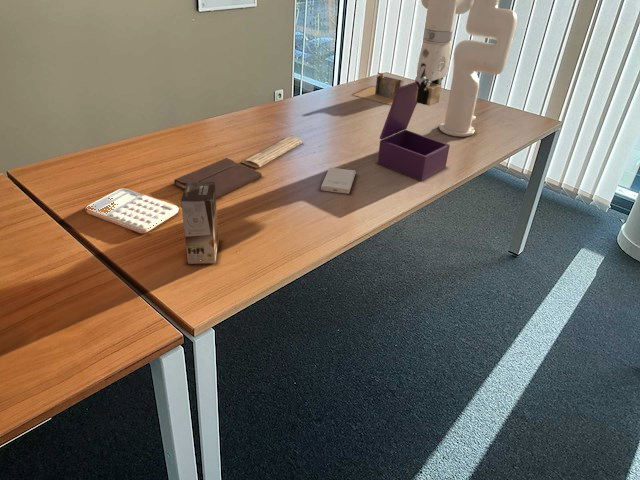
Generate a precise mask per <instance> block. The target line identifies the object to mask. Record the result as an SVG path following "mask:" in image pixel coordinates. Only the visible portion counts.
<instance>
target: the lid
mask: <svg viewBox="0 0 640 480" xmlns="http://www.w3.org/2000/svg"><path fill="white" fill-rule="evenodd" d="M423 82H426V81H424V80H423ZM416 92H417V83H416V82H415V81H414V82H411V83H408V84H404V85H403V86H402V87H399V88H398V89H397V92H396V95H395V97H394V100H393V103H392V105H390V108H389V112H388V113H387V117H386V119H385V122H384V124H383V127H382V129H381V130H382V131H381V133H380V135H379V140H383V139H385V138H387V137H390V136H392V135H394V134H397V133H399V132H401V131H404V130H408V126H409V124H410V121H411V119H412V116H413V114H414V111H415V109H416V106H417V104H418V103H417V102H415V99H416Z"/></svg>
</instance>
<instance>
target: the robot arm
mask: <svg viewBox="0 0 640 480" xmlns="http://www.w3.org/2000/svg"><path fill="white" fill-rule="evenodd" d="M420 3H421V4H422V6H423V8H425V9H426V16H425V22H424V30H423V36H422V45H421V48H420V52H419V57H418V62H417V68H416V76H415V79H414V82H416V83H417V86H418V95H417V104H420V105H424V106H427V105H426V104H427V100H428V93H429V91H428V87H429V84H430V82H431V83H434V84H438V85H442V81H443V79H444V78H445V77H447V76H448V75H449V68H450V63H451V53H452V37H453V36H452V35H453V29H454V23H455V18H456V15H464V14H465V13H467V12H468V16H467V20H466V25H465V29H466V33H467V34H469V35H470V36H472V37H478V38H483V39H489V40H495V41H496V43H491V42H485V41H480V40H474V39H464V40H462V41H460V42H458V43H457V44H456V46H455V48H454V52H453V71H452V77H451V85H450V89H449V95H448V100H447V107H446V112H445V118H444V122H441V123H440V124H439V131H441V132H442V133H444V134H445V135H448V136H453V137H461V138H463V137H470V136H473V135H474V134H475V127H473V126H472V123H473V122H475V121H476V119H477V117H476V116H475V109H476V105H477V100H478V94H479V89H480V80H479V77H478V75H477V73H481V74H488V75H494V76H495V75H496V76H497V75H500V74H502V72H503V71H504V69H505V67H506V65H507V62H508V59H509V55H510V51H511V47H512V44H513V39H514V37H515V33H516V30H517V24H518V16H517V13H516V12H515V11H514V10H512V9H508V8H502V7H501V8H500V7H499V4H500V0H420ZM423 80H424V81H426V84H425V83H424V82H423Z"/></svg>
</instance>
